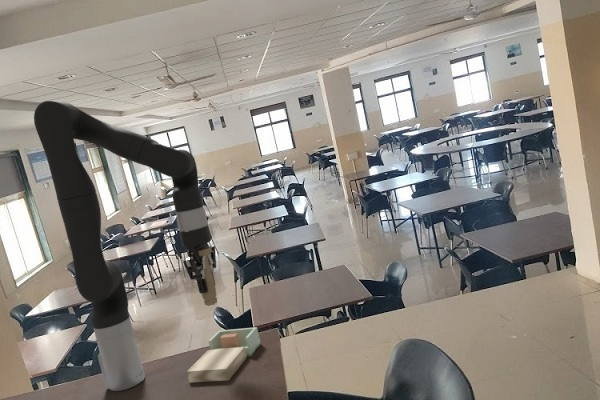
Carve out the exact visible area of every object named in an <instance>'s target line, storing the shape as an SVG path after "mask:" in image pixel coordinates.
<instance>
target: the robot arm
mask: <svg viewBox="0 0 600 400" xmlns="http://www.w3.org/2000/svg"><path fill="white" fill-rule="evenodd" d="M33 121H34V122H33V123H34V127H35V130H36V133H37V136H38V138H39V140H40V143H41V146H42V148H43V150H44V154H45V157H46V160H47V162H48V166H49V171H50V174H51V178H52V183H53V187H54V190H55V195H56V199H57V203H58V207H59V210H60V211H59V212H60V214H61V218H62V221H63V225H64V228H65V231H66V232H65V233H66V236H67V241H68V243H69V247H70V251H71V254H72V255H71V256H72V260H73V261H72V262H73V268H74V269H73V270H74V275H75V282H76V288H77V290H78V292H79V294H80V295H81V297H82V298H83V299H84V300H86V301H87V302H89V303H92V312H91V316H90V320H91V324H92V328H93V331H94V332H93V333H94V336H95V340H96V343H97V346H98V350H99V354H98V355H97V359H98V362H99V367H100V371H101V374H102V379H103V382H104V385H105V388H106V390H110V391H112V392H121V391H122V392H123V391H125V390H128V389H131V388H133V387H136V386H137V385H138V384H140V383H141V382H143V381H144V379H145V378H146V376H145V372H144V367H143V363H142V359H141V355H140V353H139V348H138V345H137V340H136V336H135V333H134V328H133V326H132V322H131V321H132V320H131V317H130V313H129V300H128V295H127V290H126V285H125V281H124V277H123V274H122V272H121V271H122V270H120V268H119V267H118V265H117V264H116V263H114V262H112V261H110V260H105V256H104V253H103V247H102V243H101V241H102V240H101V237H102V236H101V235H102V234H101V233H102V232H101V231H102V230H101V229H102V228H101V227H102V213H101V212H102V211H101V207H100V202H99V197H98V195H97V189H96V187H95V184H94V182H93V180H92V178H91V175H89V173H88V171H87V170H86V168H85V166H84V164H83V163H82V161H81V159H80V158H79V155H78V152H77V147H76V144H75V140H79V141H83V142H87V143H90V144H93V145H96V146H99V147H101V148H103V149H105V150H107V151H108V152H110V153H111V154H114V155H116V156H118V157H121V158H122V159H125V160H128V161H130V162H133V163H136V164H139V165H142V166H145V167H148V168H149V169H150V168H151V169H152V170H153V171H156V172H158V173H160V174H162V175H164V176H167V177H169V178H171V179H172V180H171V181H172V186H173V191H172V200H173V206H174V210H175V215H176V223H177V227H178V231H179V237H180V240H181V246H182V247H183V248H187V251H188V254H187V258H186V259H183V261H182V262H183V265H184V268H185V269H186V272H187V275H188V277H189V280H195V281H196V284H197V288H198V292H199V294H201V293H206V292H208V288H207V284H206V279H205V274H204V270H205V268H206V266H205V256H199V253H198V251H199V250H201V249H203V248H205V247H206V246H210V244H209V243H210V242H211V241H212V236H211V232H210V231H211V230H210V227H209V223H208V221H209V220H208V218H207V215H206V211H205V208H204V204H203V201H202V199H203V198H202V194H201V192H200V187H199V176H198V169H197V163H196V159H195V157H194V156H193V154H192V153H191V152H190V151H188V150H185V149H176V148H172V147H170V146H166V145H164V144H161V143H160V142H158V141H156V140H155V139H152V138H151V137H148V136H145V135H142V134H140V133H137V132H133V131H131V130H127V129H125V128H121V127H118V126H116V125H113V124H110V123H107V122H105V121H103V120H101V119H98V118H96V117H95V116H92V115H91V114H88V113H86V112H85V111H83V109H82V110H81V109H80V108H78V107H77V106H74V105H73V104H71V103H70V102H66V101H59V100H52V99H51V100H50V99H49V100H44V101H41V102H40V103H39V104H38V105H37V106H36V108H35V111H34V115H33ZM211 249H212V252H211V253H210V254H209V255H208V261H209V265H210V269H211V272H212V276H213V279H214V284H215V285H216V282H215V281H216V280H215V276H214V272H215V269H216V268H217V256H216V255H217V254H216V246H215V245H213V246H212V245H211ZM199 265H201V267H197V266H199ZM199 270H200V272H199Z"/></svg>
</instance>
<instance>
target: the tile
mask: <svg viewBox="0 0 600 400" xmlns="http://www.w3.org/2000/svg"><path fill="white" fill-rule="evenodd" d="M220 340H221V344H222V348H234V347H241V346H240V342H239V338H238V333H236V334H227V335H222V336H221V337H220Z"/></svg>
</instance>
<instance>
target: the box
mask: <svg viewBox="0 0 600 400" xmlns="http://www.w3.org/2000/svg"><path fill="white" fill-rule="evenodd" d="M236 333H238V338H239V342H240V346H241V347H245V351H246V355H247V358H248V357H252V356H253V355H254V353H255V352H256V351H257V349H258V348H260V345H262V343H261V339H260V335H259V334H260V333H259V331H258V327H257V326H256V327H255V326H254V327H247V328H246V327H244V328H235V329H234V328H233V329H225V330H218V331H217V332H216V333H215V334H214V335H213V336H212V337H211V338H210V339H209V340H208V345H209V348H210V349H209V350H213V349H225V348H222V344H221V340H220V337H221V336H222V335H227V334H236ZM234 348H237V347H234Z"/></svg>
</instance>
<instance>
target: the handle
mask: <svg viewBox="0 0 600 400" xmlns="http://www.w3.org/2000/svg"><path fill="white" fill-rule="evenodd" d="M211 246H212V245H211ZM211 246H210V245H209V246H206V247H205V248H203V249H201V250H199V251H198V253H199V256H205V266H206V268H205V270H204V274H205V279H206V284H207V288H208V292H206V293H200V294H201V297H202V299H203V302H204V305H205V306H207V307H209V306H213V305H216V304H217V303H218V297H217V289H216V283H215V284H214V280H215V278H214V279H213V276H214V275H213V276H212V272H211V269H210V265H209V261H208V255H209V254H210V253H211V252H212V249H211ZM186 252H187V253H186V254H187V255H188V250H187V251H186ZM197 267H201V265H199V266H197ZM199 272H200V270H199Z"/></svg>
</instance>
